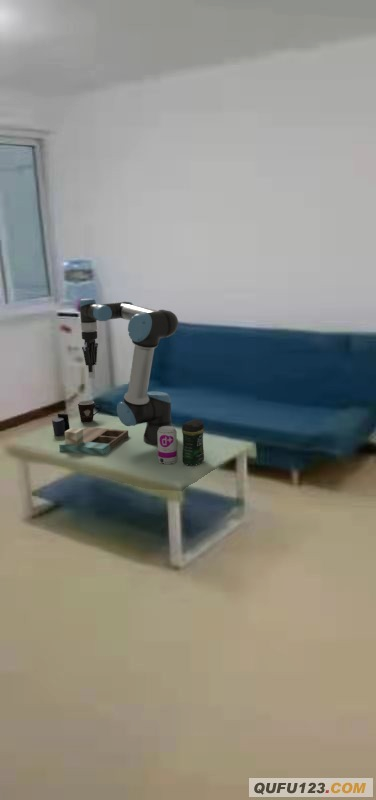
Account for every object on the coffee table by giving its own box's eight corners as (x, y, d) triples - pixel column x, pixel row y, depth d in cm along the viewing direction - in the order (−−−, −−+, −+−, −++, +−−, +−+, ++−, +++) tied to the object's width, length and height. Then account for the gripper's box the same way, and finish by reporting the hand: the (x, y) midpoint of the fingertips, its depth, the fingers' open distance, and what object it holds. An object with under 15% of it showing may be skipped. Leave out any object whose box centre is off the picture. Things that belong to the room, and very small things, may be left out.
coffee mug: (76, 423, 328) (75, 404, 326) (81, 418, 337) (80, 400, 334) (97, 423, 326) (96, 405, 324) (102, 419, 335) (101, 400, 332)
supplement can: (175, 465, 265) (174, 431, 261) (156, 464, 267) (155, 430, 263) (178, 458, 273) (178, 425, 269) (160, 457, 274) (159, 425, 271)
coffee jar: (195, 467, 262) (194, 425, 258) (179, 464, 267) (178, 422, 262) (207, 460, 270) (206, 419, 265) (192, 457, 274) (191, 416, 270)
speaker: (62, 430, 315) (60, 411, 311) (70, 432, 312) (68, 413, 308) (51, 436, 309) (49, 416, 305) (59, 438, 306) (57, 418, 302)
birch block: (83, 441, 289) (82, 429, 287) (77, 445, 283) (76, 432, 282) (71, 440, 291) (71, 427, 289) (65, 444, 285) (64, 431, 284)
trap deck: (128, 436, 305) (128, 430, 304) (103, 455, 279) (103, 448, 278) (87, 432, 312) (87, 427, 311) (59, 450, 286) (59, 444, 285)
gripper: (88, 328, 312) (91, 374, 318) (76, 332, 300) (79, 380, 306) (102, 329, 310) (104, 375, 316) (90, 333, 298) (92, 381, 304)
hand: (92, 378), depth 311 cm, fingers closed
